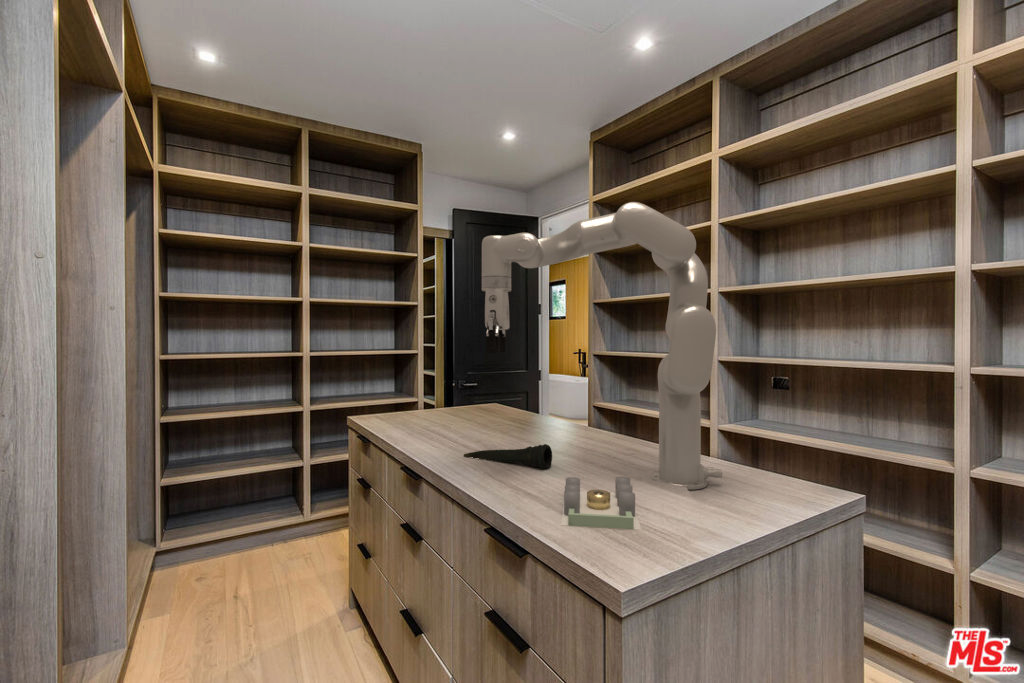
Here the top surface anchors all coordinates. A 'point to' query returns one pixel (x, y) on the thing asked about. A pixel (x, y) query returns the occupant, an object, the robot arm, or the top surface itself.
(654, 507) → the top surface
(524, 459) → the tool
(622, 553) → the top surface
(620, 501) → the board
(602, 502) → the gold short round piece
